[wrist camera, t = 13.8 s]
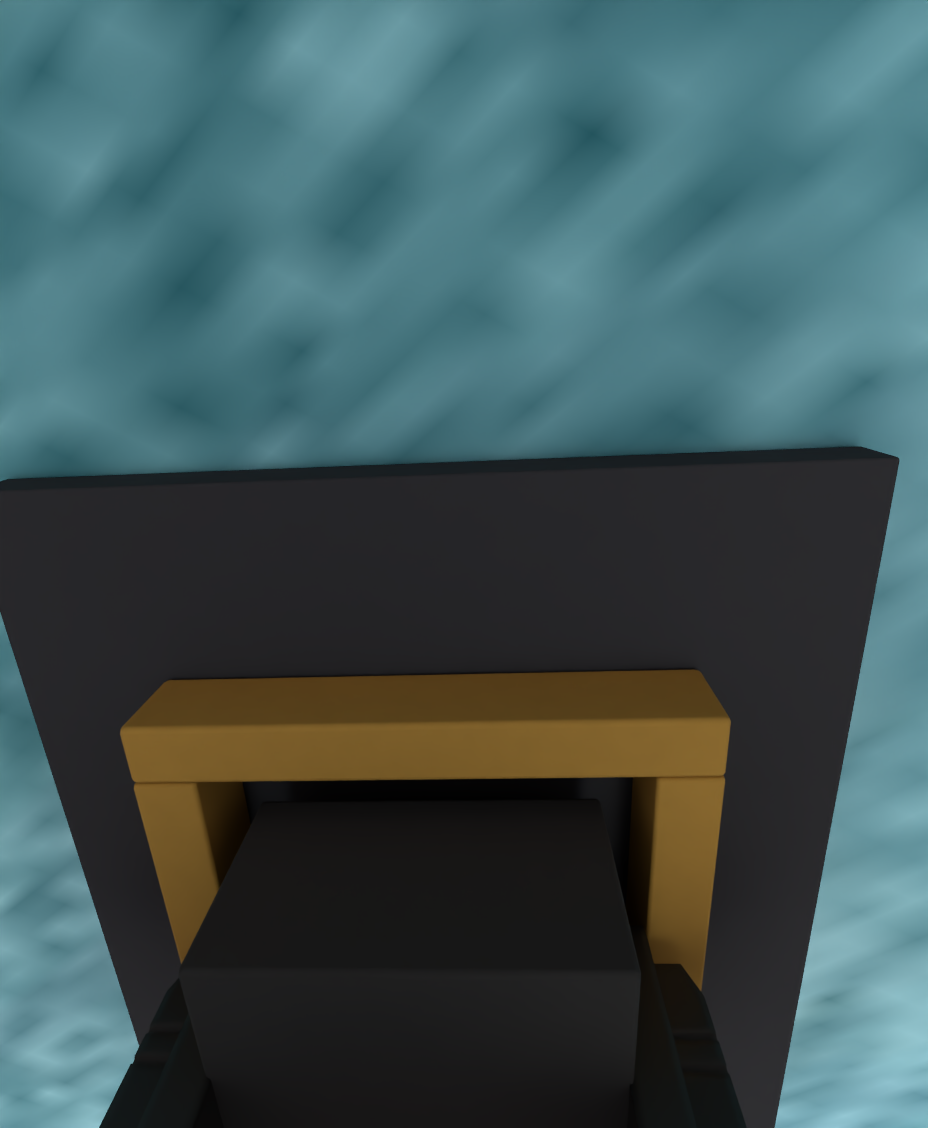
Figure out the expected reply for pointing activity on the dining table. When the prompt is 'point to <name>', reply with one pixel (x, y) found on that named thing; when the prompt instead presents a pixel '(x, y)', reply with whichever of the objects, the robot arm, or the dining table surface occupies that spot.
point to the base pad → (463, 680)
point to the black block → (418, 968)
